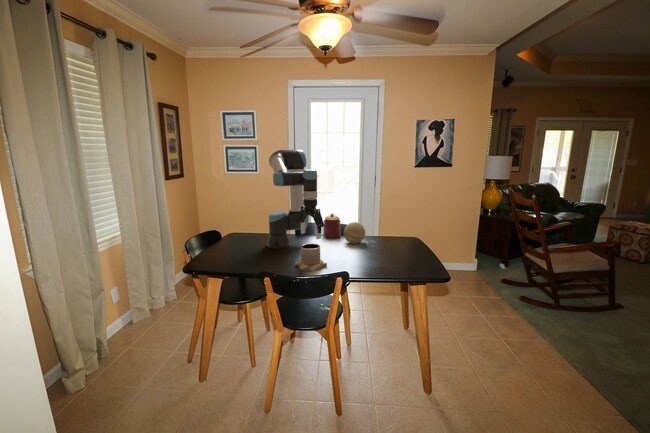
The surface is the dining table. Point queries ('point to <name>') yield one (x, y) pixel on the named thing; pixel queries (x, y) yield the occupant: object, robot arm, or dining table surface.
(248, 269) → the dining table surface
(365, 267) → the dining table surface
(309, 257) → the planter
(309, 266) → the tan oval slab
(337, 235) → the canister
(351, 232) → the decorative ball
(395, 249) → the dining table surface
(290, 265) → the dining table surface
